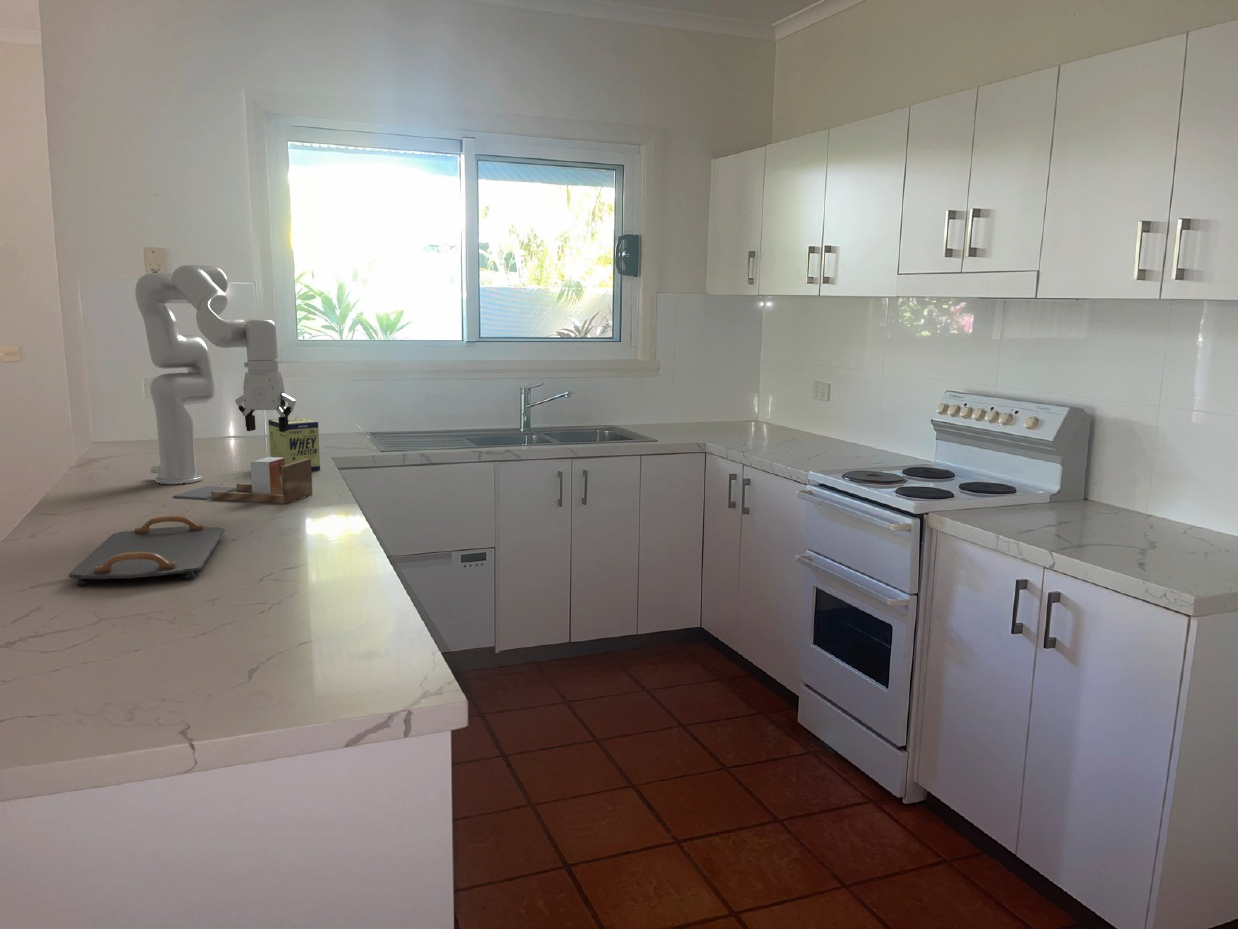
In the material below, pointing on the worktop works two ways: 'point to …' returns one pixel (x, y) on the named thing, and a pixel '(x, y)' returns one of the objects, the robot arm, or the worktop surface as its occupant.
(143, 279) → the robot arm
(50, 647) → the worktop surface
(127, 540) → the serving board
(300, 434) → the protein box
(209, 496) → the mat
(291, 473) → the lane rack
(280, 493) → the small box
